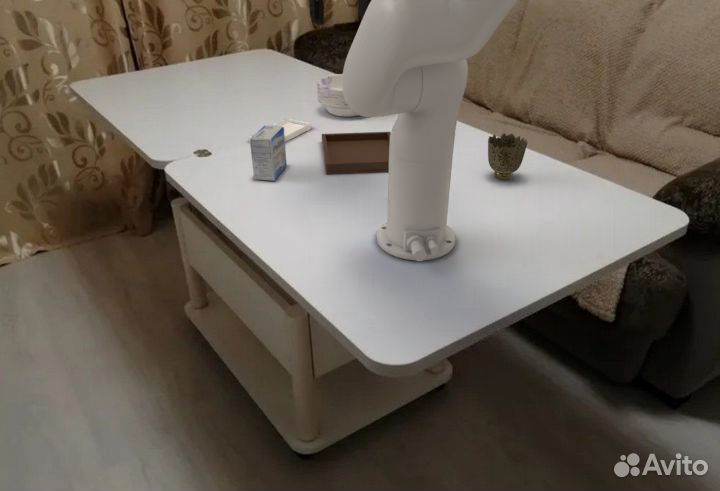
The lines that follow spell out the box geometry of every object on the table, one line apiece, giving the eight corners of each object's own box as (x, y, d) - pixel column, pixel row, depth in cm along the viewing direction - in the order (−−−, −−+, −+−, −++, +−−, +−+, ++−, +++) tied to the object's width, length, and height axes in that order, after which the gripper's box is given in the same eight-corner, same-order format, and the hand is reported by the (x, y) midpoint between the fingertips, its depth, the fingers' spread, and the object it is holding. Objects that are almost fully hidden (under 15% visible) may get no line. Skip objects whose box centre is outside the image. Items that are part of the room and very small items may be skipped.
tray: (403, 171, 121) (403, 161, 120) (326, 174, 119) (326, 164, 118) (389, 140, 136) (390, 131, 135) (321, 143, 134) (321, 133, 133)
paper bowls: (385, 116, 150) (386, 85, 146) (329, 124, 146) (328, 91, 142) (363, 100, 163) (363, 70, 159) (310, 106, 158) (309, 76, 154)
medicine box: (274, 181, 116) (271, 139, 112) (253, 179, 117) (249, 138, 112) (287, 166, 123) (284, 126, 118) (266, 164, 124) (263, 124, 119)
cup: (493, 187, 114) (498, 148, 110) (477, 172, 120) (481, 134, 116) (528, 183, 116) (534, 144, 112) (510, 168, 122) (515, 131, 118)
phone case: (273, 147, 132) (312, 128, 143) (273, 142, 131) (312, 122, 142) (248, 141, 135) (287, 123, 146) (247, 136, 134) (287, 117, 145)
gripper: (305, -91, 88) (309, 30, 96) (398, -92, 96) (394, 19, 105) (281, -93, 93) (287, 22, 102) (371, -94, 101) (370, 12, 110)
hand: (341, 20), depth 103 cm, fingers open, 9 cm apart
